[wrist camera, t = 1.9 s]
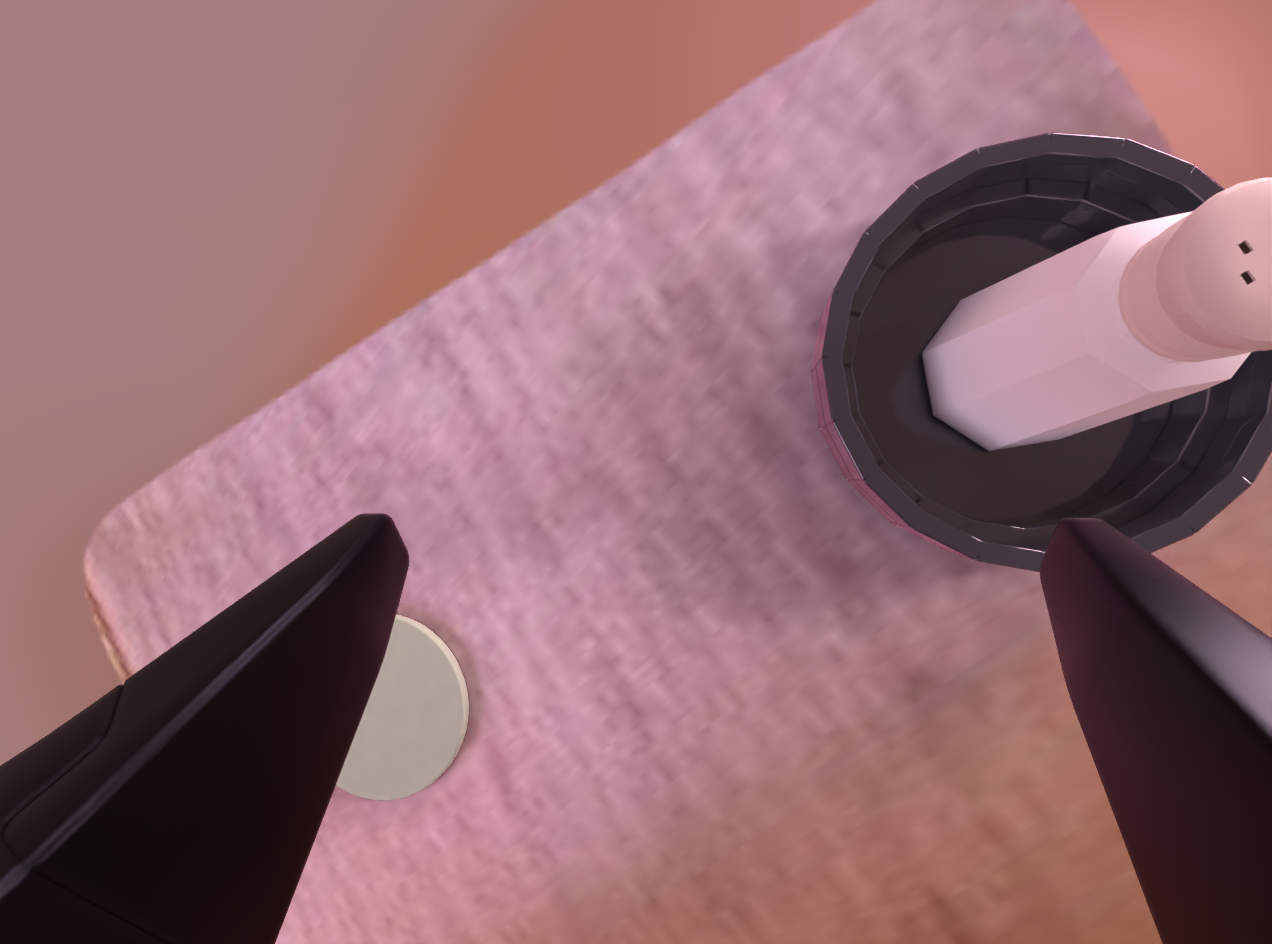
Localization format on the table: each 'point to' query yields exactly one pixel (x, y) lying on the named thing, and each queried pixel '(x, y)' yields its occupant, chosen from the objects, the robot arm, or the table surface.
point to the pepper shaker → (1109, 325)
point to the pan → (971, 261)
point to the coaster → (408, 718)
